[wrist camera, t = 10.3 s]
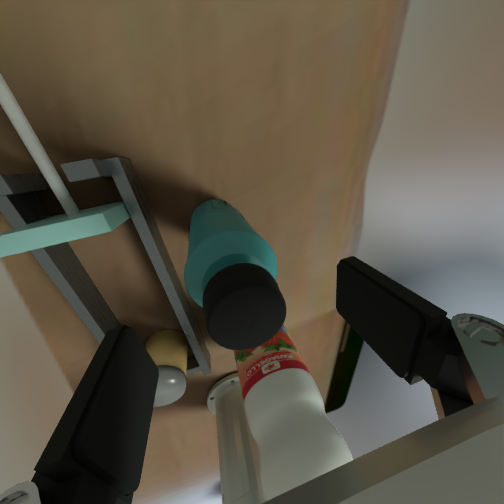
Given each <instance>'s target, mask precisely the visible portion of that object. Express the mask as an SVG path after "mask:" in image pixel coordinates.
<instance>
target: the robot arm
mask: <svg viewBox="0 0 504 504" xmlns="http://www.w3.org/2000/svg"><path fill="white" fill-rule="evenodd" d="M336 308H337V311H338V313H339V314H340V315H341V316H342V317H343V318H344V319H345V320H346V321H347V322H348V323H349V325H350V326H351V327H352V328H353V329H354V330H355V331H356V332H357V333H358V334H359V335H360V336H361V337H362V338H363V339H364V341H365V342H366V343H367V344H368V345H369V346H370V347H371V348H372V349H373V350H374V351H375V352H376V353H377V354H378V355H379V357H380V358H382V360H383V361H384V362H385V363H386V364H387V365H388V366H389V367H390V368H391V369H392V370H393V371H394V372H395V374H397V375H398V376H399V377H401V378H404V379H405V380H406V381H407V382H408V383H409V384H410V385H412V384H414V383H416V382H419V381H421V380H422V379H424V380H425V381H426V382H427V383H428V384H429V385H430V388H431V392H432V395H433V399H434V403H435V407H436V411H437V414H438V418H439V420H438V421H436V422H433V423H431V424H429V425H427V426H425V427H423V428H421V429H418V430H416V431H414V432H412V433H410V434H408V435H406V436H403V437H401V438H399V439H397V440H395V441H393V442H391V443H389V444H386V445H384V446H382V447H380V448H378V449H376V450H373V451H371V452H369V453H367V454H365V455H363V456H361V457H359V458H356V459H354V460H352V461H350V462H348V463H346V464H344V465H342V466H340V467H337V468H335V469H333V470H331V471H329V472H327V473H325V474H323V475H320V476H318V477H316V478H314V479H312V480H310V481H308V482H306V483H304V484H302V485H299V486H297V487H295V488H293V489H291V490H289V491H287V492H285V493H283V494H280V495H278V496H276V497H274V498H272V499H270V500H268V501H266V500H265V497H264V493H263V489H262V485H261V479H260V452H259V447H258V445H257V443H256V441H255V439H254V438H253V436H252V434H251V431H250V428H249V424H248V420H247V416H246V412H245V407H244V401H243V396H242V391H241V386H240V380H239V375H238V373H234V374H231V375H229V376H226V377H224V378H223V379H221V380H220V381H218V382H217V383H216V384H215V385H214V386H213V387H212V388H211V389H210V391H209V393H208V396H207V407H208V409H209V410H210V411H211V413H213V414H215V415H216V424H217V438H218V452H219V465H220V479H221V493H222V504H504V325H503V324H501V323H499V322H497V321H495V320H493V319H490V318H487V317H484V316H481V315H476V314H467V313H463V314H457V315H455V316H453V317H452V319H451V320H450V319H448V318H447V317H446V315H447V312H446V311H444V310H442V309H441V308H439V307H437V306H435V305H434V304H432V303H431V302H429V301H427V300H426V299H424V298H422V297H420V296H419V295H417V294H416V293H414V292H412V291H411V290H409V289H407V288H406V287H404V286H402V285H401V284H399V283H397V282H396V281H394V280H392V279H391V278H389V277H387V276H386V275H384V274H382V273H381V272H379V271H377V270H376V269H374V268H372V267H371V266H369V265H368V264H366V263H364V262H363V261H361V260H359V259H357V258H356V257H354V256H351V257H348V258H345V259H342V260H340V262H339V264H338V265H337V289H336ZM158 378H159V370H158V367H157V365H156V364H155V362H154V361H153V359H152V358H151V356H150V354H149V353H148V351H147V350H146V348H145V346H144V345H143V343H142V342H141V340H140V339H139V337H138V335H137V334H136V332H135V331H134V329H133V328H132V327H129V328H128V326H126V325H124V326H120V327H117V328H114V329H110V330H108V331H107V333H106V334H105V336H104V338H103V340H102V342H101V344H100V346H99V348H98V350H97V351H96V353H95V355H94V357H93V359H92V361H91V363H90V365H89V366H88V368H87V370H86V372H85V374H84V376H83V378H82V380H81V382H80V383H79V385H78V387H77V389H76V391H75V393H74V395H73V397H72V399H71V400H70V402H69V404H68V406H67V408H66V410H65V412H64V414H63V416H62V418H61V419H60V421H59V423H58V425H57V427H56V429H55V431H54V433H53V434H52V436H51V438H50V440H49V442H48V444H47V446H46V448H45V449H44V451H43V453H42V455H41V457H40V459H39V461H38V463H37V465H36V466H35V469H34V470H35V471H36V473H35V474H34V477H33V478H32V480H31V482H30V481H25V482H22V483H19V484H16V485H15V486H13V487H11V488H10V489H8V490H6V491H5V492H4V493H2V494H1V495H0V504H131V503H132V498H133V493H134V491H136V490H137V488H138V486H139V483H140V479H141V473H142V467H143V462H144V456H145V451H146V445H147V439H148V434H149V428H150V423H151V417H152V411H153V406H154V400H155V395H156V389H157V383H158Z"/></svg>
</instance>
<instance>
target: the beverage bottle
mask: <svg viewBox="0 0 504 504" xmlns="http://www.w3.org/2000/svg"><path fill="white" fill-rule="evenodd" d="M215 199H216V198H215ZM198 205H199V204H198ZM239 213H240V212H239ZM239 213H238V211H236V210H235V208H233V207H232V206H231V205H230V203H229V204H228V203H227V202H226V201H223V200H208V201H204V202H203V203H202V204H200V205H199V206H198V207H197V208H196V209H195V211H194V212H193V214H192V217H191V224H190V233H189V232H188V233H189V237H188V238H189V240H188V241H189V248H188V256H187V262H186V265H185V270H184V280H185V285H186V289H187V291H188V293H189V295H190V296H191V298H192V299H193V300H194V301H195V302H196V303H197V304H198V305H199V306H201V307H202V308H203V311H204V315H205V318H206V325H207V329H208V332H209V334H210V336H211V337H212V339H213V340H214V341H215V342H216V343H217V344H219V345H220V346H222V347H225V348H227V349H231V350H247V349H252V348H255V347H258V346H260V345H262V344H264V343H266V342H267V341H269V340H270V339H271V338H273V337H274V336H275V335H276V334H277V333H278V331H279V330H280V329H281V327H282V325H283V323H284V321H285V317H286V304H285V300H284V298H283V296H282V294H281V292H280V290H279V287H278V284H277V283H276V281H275V280H276V276H277V260H276V257H275V254H274V252H273V250H272V248H271V247H270V245H269V244H268V243H267V242H266V241H265V240H264V239H263V238H262V237H260V235H258V234H257V233H256V232H255V231H254V229H253V228H252V227H251V226H250V225H249V223H248V222H247V221H246V220H245V219H244V217H243V216H242V215H240V214H239ZM188 229H189V228H188Z"/></svg>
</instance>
